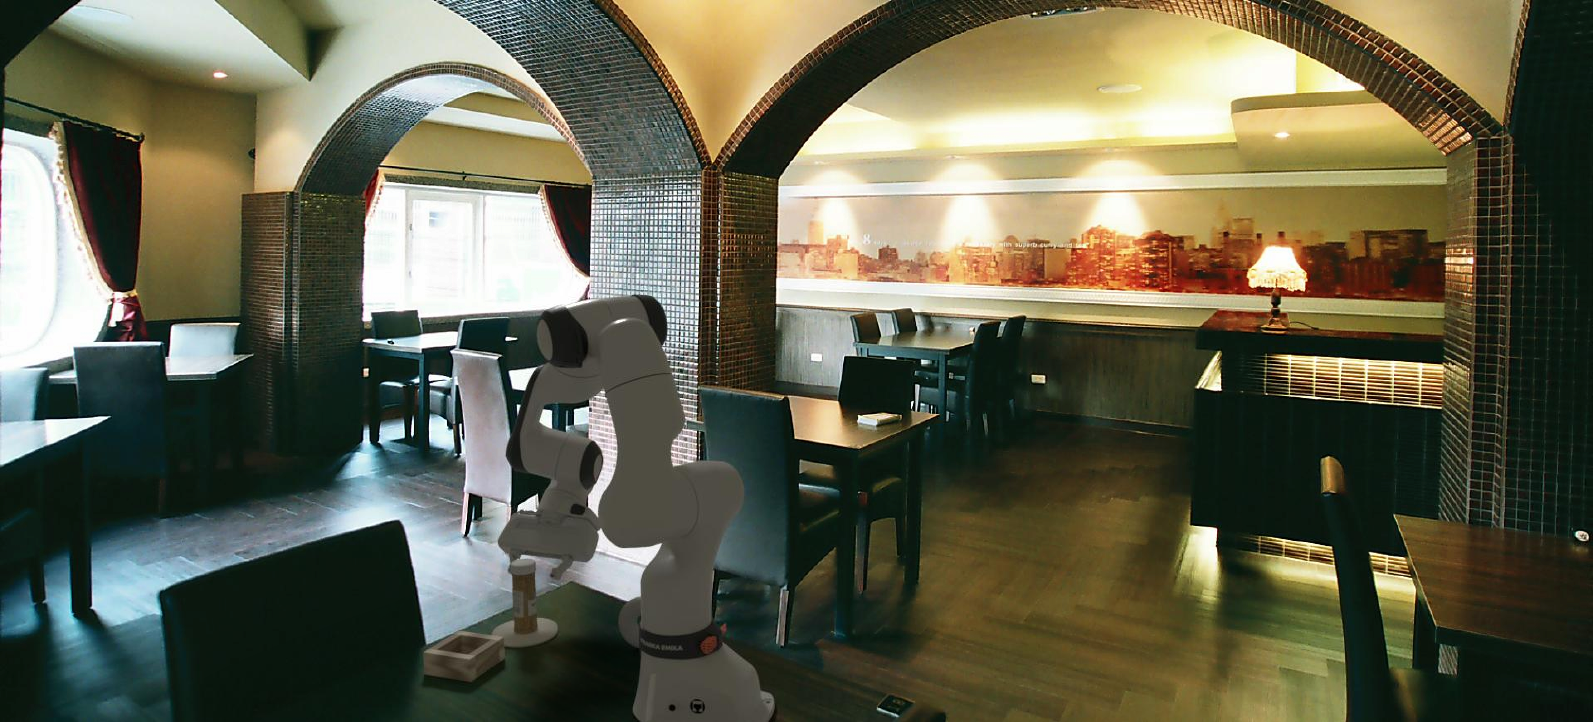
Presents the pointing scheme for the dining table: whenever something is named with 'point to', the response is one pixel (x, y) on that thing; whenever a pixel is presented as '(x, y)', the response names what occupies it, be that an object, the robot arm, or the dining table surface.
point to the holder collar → (464, 656)
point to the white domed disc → (513, 639)
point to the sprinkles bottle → (524, 595)
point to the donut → (630, 621)
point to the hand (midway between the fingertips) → (533, 576)
